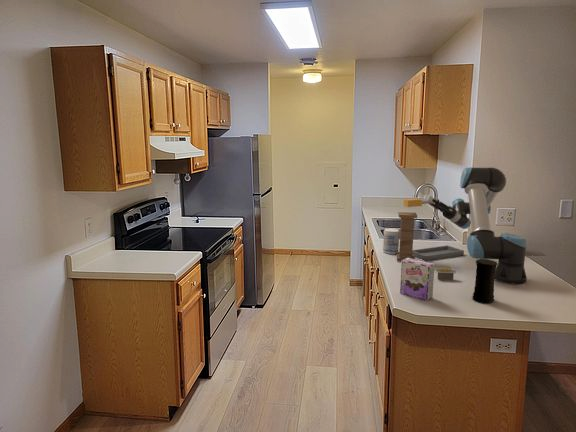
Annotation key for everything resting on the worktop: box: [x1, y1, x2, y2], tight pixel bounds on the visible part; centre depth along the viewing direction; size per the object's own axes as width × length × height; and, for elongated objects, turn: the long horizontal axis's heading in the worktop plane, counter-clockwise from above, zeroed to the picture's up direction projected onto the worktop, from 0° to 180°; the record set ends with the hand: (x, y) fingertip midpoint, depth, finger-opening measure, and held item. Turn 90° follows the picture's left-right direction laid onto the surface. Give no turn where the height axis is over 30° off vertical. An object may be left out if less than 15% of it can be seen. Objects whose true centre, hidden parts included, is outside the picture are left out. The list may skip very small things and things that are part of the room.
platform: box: [435, 266, 457, 281], centre depth 214 cm, size 12×18×7 cm, turn 86°
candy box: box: [399, 258, 436, 301], centre depth 191 cm, size 14×6×16 cm, turn 45°
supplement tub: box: [382, 228, 400, 255], centre depth 264 cm, size 10×10×15 cm
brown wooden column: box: [395, 211, 418, 262], centre depth 246 cm, size 10×10×28 cm
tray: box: [412, 244, 465, 262], centre depth 258 cm, size 30×14×3 cm, turn 113°
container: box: [472, 259, 498, 305], centre depth 185 cm, size 9×9×18 cm
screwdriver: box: [403, 197, 440, 208], centre depth 247 cm, size 24×4×4 cm, turn 114°
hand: (426, 197), depth 248 cm, fingers closed on screwdriver, 2 cm apart
